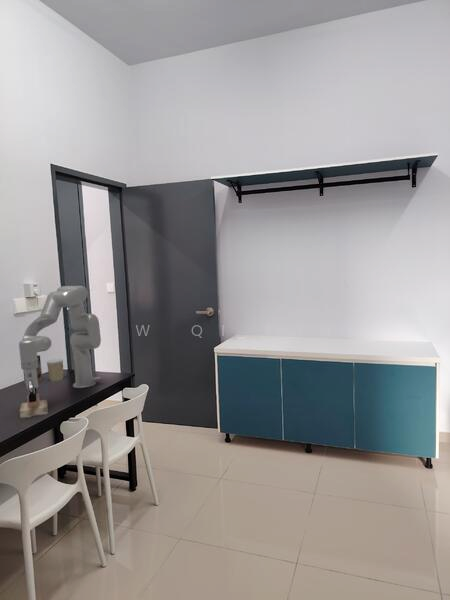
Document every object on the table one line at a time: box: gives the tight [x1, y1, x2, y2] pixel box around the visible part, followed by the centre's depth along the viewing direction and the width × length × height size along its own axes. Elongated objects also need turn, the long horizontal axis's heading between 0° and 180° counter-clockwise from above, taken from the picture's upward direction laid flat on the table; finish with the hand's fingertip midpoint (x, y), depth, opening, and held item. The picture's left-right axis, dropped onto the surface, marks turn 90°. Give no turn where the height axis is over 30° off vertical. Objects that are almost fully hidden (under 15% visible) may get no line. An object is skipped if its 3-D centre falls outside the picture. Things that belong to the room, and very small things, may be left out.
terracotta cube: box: [26, 392, 40, 408], centre depth 209 cm, size 5×5×5 cm
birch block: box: [19, 398, 49, 419], centre depth 210 cm, size 12×12×4 cm
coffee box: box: [22, 354, 43, 386], centre depth 259 cm, size 9×6×16 cm
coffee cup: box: [46, 358, 64, 382], centre depth 264 cm, size 9×9×12 cm
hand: (33, 398), depth 209 cm, fingers open, 9 cm apart
